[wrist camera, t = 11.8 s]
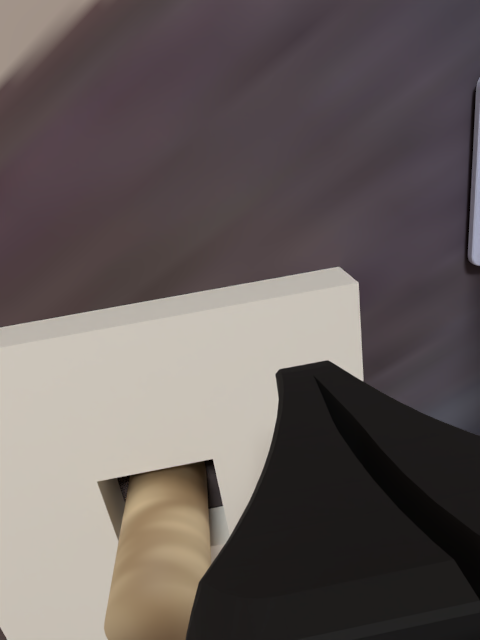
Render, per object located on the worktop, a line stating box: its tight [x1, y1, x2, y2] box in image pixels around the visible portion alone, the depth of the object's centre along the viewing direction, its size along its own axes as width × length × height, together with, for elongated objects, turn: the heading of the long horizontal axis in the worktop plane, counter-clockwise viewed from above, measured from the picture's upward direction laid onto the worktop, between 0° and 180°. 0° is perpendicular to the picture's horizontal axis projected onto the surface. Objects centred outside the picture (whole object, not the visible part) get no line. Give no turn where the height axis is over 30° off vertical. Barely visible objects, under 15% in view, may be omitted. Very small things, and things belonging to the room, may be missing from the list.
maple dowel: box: [104, 461, 211, 640], centre depth 20 cm, size 4×4×8 cm
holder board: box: [0, 267, 363, 640], centre depth 22 cm, size 20×20×2 cm
